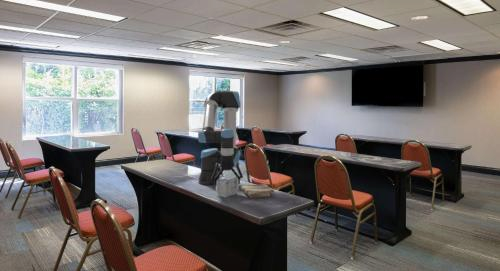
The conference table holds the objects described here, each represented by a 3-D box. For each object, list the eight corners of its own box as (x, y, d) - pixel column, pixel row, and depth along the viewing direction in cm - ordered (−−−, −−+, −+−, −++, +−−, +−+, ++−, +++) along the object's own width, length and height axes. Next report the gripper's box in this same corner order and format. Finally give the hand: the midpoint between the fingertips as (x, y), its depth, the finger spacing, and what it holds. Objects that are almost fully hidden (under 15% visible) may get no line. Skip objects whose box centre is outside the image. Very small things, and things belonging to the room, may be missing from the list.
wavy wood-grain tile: (240, 191, 210) (240, 185, 209) (264, 190, 215) (264, 183, 214) (248, 199, 194) (249, 192, 194) (274, 197, 199) (274, 190, 199)
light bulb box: (228, 192, 209) (228, 175, 208) (236, 193, 205) (237, 176, 204) (217, 195, 200) (217, 178, 199) (225, 197, 196) (225, 179, 195)
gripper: (208, 156, 193) (208, 193, 195) (248, 155, 200) (248, 190, 203) (205, 154, 200) (206, 190, 202) (244, 153, 207) (244, 187, 210)
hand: (227, 190), depth 202 cm, fingers closed on light bulb box, 12 cm apart
